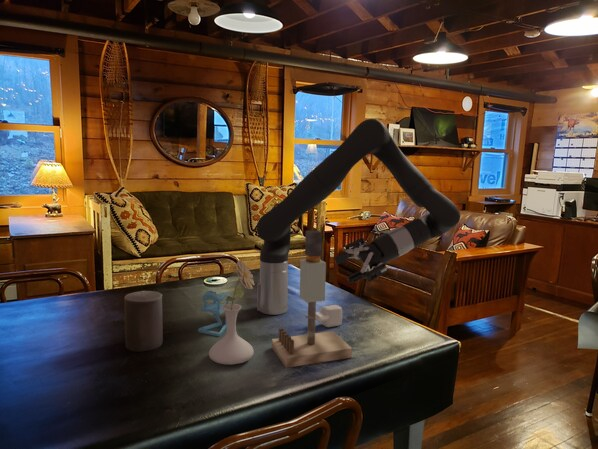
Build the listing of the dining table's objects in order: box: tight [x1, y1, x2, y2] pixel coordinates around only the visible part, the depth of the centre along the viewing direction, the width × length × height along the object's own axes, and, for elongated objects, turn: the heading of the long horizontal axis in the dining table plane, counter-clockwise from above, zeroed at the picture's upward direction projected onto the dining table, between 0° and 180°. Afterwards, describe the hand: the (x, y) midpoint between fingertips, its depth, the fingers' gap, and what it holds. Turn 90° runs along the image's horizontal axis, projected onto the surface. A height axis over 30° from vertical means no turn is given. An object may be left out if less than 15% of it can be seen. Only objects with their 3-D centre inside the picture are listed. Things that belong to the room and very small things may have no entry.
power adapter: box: [305, 304, 343, 328], centre depth 136 cm, size 11×5×6 cm, turn 116°
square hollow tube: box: [299, 258, 327, 303], centre depth 115 cm, size 5×5×10 cm
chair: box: [197, 290, 232, 338], centre depth 132 cm, size 8×8×12 cm
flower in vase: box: [208, 260, 255, 365], centre depth 113 cm, size 13×11×25 cm
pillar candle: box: [123, 290, 164, 353], centre depth 120 cm, size 10×10×15 cm
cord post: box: [271, 229, 353, 369], centre depth 116 cm, size 18×12×32 cm, turn 111°
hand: (341, 270), depth 122 cm, fingers open, 8 cm apart
